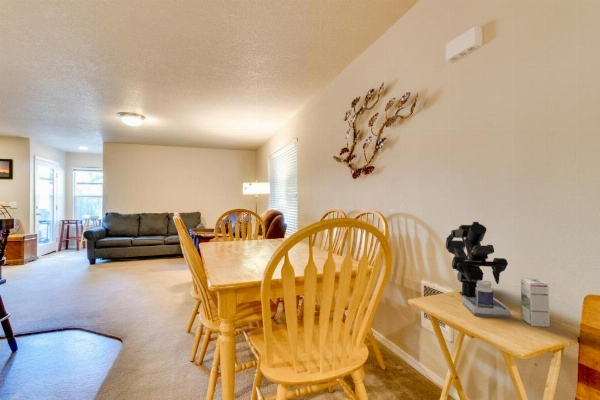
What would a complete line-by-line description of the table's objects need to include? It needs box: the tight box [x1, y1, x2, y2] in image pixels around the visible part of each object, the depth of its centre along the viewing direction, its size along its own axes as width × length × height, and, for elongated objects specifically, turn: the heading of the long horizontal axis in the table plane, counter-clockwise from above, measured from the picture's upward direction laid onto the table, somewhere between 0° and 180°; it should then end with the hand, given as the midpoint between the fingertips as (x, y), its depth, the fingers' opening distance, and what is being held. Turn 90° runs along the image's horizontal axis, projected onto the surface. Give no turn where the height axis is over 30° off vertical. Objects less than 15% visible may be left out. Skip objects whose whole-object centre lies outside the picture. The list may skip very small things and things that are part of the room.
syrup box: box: [520, 278, 551, 328], centre depth 97 cm, size 6×6×14 cm
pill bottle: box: [476, 280, 494, 308], centre depth 109 cm, size 6×6×10 cm
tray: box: [462, 296, 511, 319], centre depth 108 cm, size 12×11×4 cm
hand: (484, 282), depth 108 cm, fingers open, 9 cm apart
